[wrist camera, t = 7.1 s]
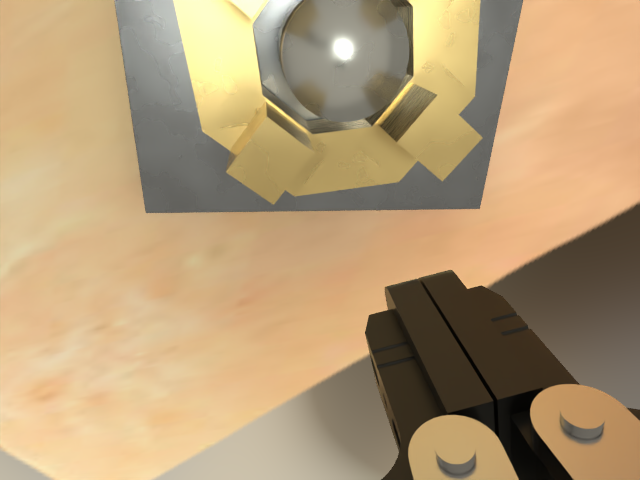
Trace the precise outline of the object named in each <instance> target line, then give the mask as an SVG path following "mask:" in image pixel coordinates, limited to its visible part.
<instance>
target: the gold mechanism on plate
mask: <svg viewBox="0 0 640 480" xmlns="http://www.w3.org/2000/svg"><path fill="white" fill-rule="evenodd" d="M522 3H523V0H480V16H479V34H478V52H477V70H476V88H475V97H474V98H473V99H472V100H471V102H470V103H469V104H468V105H467V106H466V107H465V108H464V109H463V111H462V112H461V113H460V114H459V116H461V117H462V118H463V119H464V120H465V121H466V122H467V123H468V124H469V125H470V126H471V127H472V128H473V129H474V130H475V131H476V132H477V133H478V134H479V135H481V136H482V137H483V138H482V139H481V140H480V141H479V143H478V144H477V145H476V146H475V147H474V148H473V149H472V150H471V151H470V152H469V153H468V154H467V155H466V157H465V158H464V159H463V160H462V161H461V162H460V163H459V164H458V165H457V166H456V167H455V168H454V170H453V171H452V172H451V173H450V174H449V175H448V176H447V177H446V178H445V179H444V180H443V181H441V180H440V179H439V178H438V177H437V176H435V175H434V174H433V173H432V172H431V171H430V170H428V169H427V168H426V167H425V166H424V165H423V164H421V163H420V162H419V161H417V162H416V163H415V164H414V166H413V167H412V168H411V169H410V170H409V171H408V172H407V173H406V175H405V176H404V177H403V178H402V179H401V180H400V181H399V182H396V183H389V184H382V185H374V186H367V187H360V188H353V189H345V190H338V191H331V192H323V193H316V194H309V195H302V196H293V195H292V194H290V193H289V192H287V191H286V190H285V191H284V192H283V194H282V195H281V196H280V197H279V199H278V200H277V201H276V202H275V204H274V205H273V204H272V203H270V202H269V201H267V200H266V199H264V198H263V197H261V196H260V195H258V194H257V193H256V192H254V191H253V190H251V189H250V188H248V187H247V186H245V185H244V184H242V183H241V182H239V181H238V180H237V179H235V178H234V177H232V176H231V175H229V174H228V173H226V168H227V164H228V159H229V154H230V151H229V150H228V149H227V148H225V147H224V146H222V145H221V144H220V143H218V142H217V141H215V140H214V139H213V138H211V137H210V136H208V135H207V134H205V133H204V132H203V131H202V128H201V123H200V119H199V114H198V110H197V105H196V101H195V96H194V92H193V87H192V83H191V78H190V73H189V69H188V64H187V60H186V55H185V51H184V46H183V42H182V37H181V33H180V28H179V24H178V19H177V14H176V10H175V5H174V1H173V0H115V7H116V14H117V21H118V27H119V34H120V41H121V48H122V54H123V61H124V68H125V75H126V82H127V88H128V95H129V102H130V109H131V116H132V122H133V129H134V136H135V143H136V149H137V156H138V163H139V170H140V177H141V183H142V190H143V197H144V204H145V210H146V213H183V212H262V211H340V210H418V209H480V205H481V200H482V195H483V190H484V185H485V181H486V176H487V171H488V166H489V161H490V157H491V152H492V147H493V142H494V137H495V133H496V128H497V123H498V118H499V113H500V109H501V104H502V99H503V94H504V90H505V85H506V80H507V75H508V70H509V66H510V61H511V56H512V51H513V46H514V42H515V37H516V32H517V27H518V22H519V18H520V13H521V8H522ZM253 27H254V34H255V40H256V47H257V53H258V60H259V66H260V73H261V80H262V86H263V87H264V88H266V89H267V90H268V91H269V92H271V93H272V94H273V95H275V96H276V97H277V98H278V99H280V100H281V101H282V102H283V103H285V104H286V105H287V106H288V107H290V108H291V109H292V110H293V111H295V112H296V113H297V114H298V115H300V116H301V117H302V118H303V119H305V120H306V121H311V120H319V119H326V120H330V121H335V122H352V121H357V120H361V119H364V118H367V117H369V116H371V115H373V114H374V113H376V112H378V111H379V110H381V109H382V108H383V107H384V106H385V105H386V104H387V103H388V102H389V101H390V100H391V99H392V98H393V97H394V95H395V94H396V93H397V91H398V89H399V88H400V86H401V84H402V82H403V79H404V77H405V74H406V71H407V67H408V61H409V40H408V34H407V30H406V27H405V24H404V22H403V20H402V18H401V16H400V14H399V12H398V11H397V9H396V8H395V7H394V6H393V4H392V3H391V2H390V1H389V0H269V1H268V2H267V3H266V5H265V6H264V8H263V9H262V11H261V12H260V14H259V15H258V17H257V18H256V20H255V21H254V23H253Z"/></svg>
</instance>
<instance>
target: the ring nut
mask: <svg viewBox="0 0 640 480" xmlns="http://www.w3.org/2000/svg"><path fill="white" fill-rule="evenodd" d="M173 1H174V5H175V10H176V14H177V19H178V24H179V28H180V33H181V37H182V42H183V46H184V51H185V55H186V60H187V64H188V69H189V73H190V78H191V83H192V87H193V92H194V96H195V101H196V105H197V110H198V114H199V119H200V123H201V128H202V131H203V132H204V133H205V134H207V135H208V136H210V137H211V138H213V139H214V140H215V141H217V142H218V143H220V144H221V145H222V146H224V147H225V148H227V149H228V150H229V151H230V154H229V159H228V164H227V168H226V173H228V174H229V175H231V176H232V177H234V178H235V179H237V180H238V181H239V182H241V183H242V184H244V185H245V186H247V187H248V188H250V189H251V190H253V191H254V192H256V193H257V194H258V195H260V196H261V197H263V198H264V199H266V200H267V201H269V202H270V203H272V204H273V205H274V204H275V202H276V201H277V200H278V199H279V197H280V196H281V195H282V194H283V192H284V191H285V190H286V191H287V192H289V193H290V194H292V195H293V196H302V195H309V194H316V193H323V192H331V191H338V190H345V189H353V188H360V187H367V186H374V185H382V184H389V183H396V182H399V181H400V180H401V179H402V178H403V177H404V176H405V175H406V173H407V172H408V171H409V170H410V169H411V168H412V167H413V166H414V164H415V163H416V162H417V161H419V162H420V163H421V164H423V165H424V166H425V167H426V168H427V169H428V170H430V171H431V172H432V173H433V174H434V175H435V176H437V177H438V178H439V179H440V180H441V181H443V180H444V179H445V178H446V177H447V176H448V175H449V174H450V173H451V172H452V171H453V170H454V168H455V167H456V166H457V165H458V164H459V163H460V162H461V161H462V160H463V159H464V158H465V157H466V155H467V154H468V153H469V152H470V151H471V150H472V149H473V148H474V147H475V146H476V145H477V144H478V143H479V141H480V140H481V139H482V138H483V137H482V136H481V135H479V134H478V133H477V132H476V131H475V130H474V129H473V128H472V127H471V126H470V125H469V124H468V123H467V122H466V121H465V120H464V119H463V118H462V117H461V116H459V114H460V113H461V112H462V111H463V109H464V108H465V107H466V106H467V105H468V104H469V103H470V102H471V100H472V99H473V98H474V97H475V88H476V70H477V52H478V34H479V16H480V0H389V1H390V2H391V3H392V4H393V6H394V7H395V8H396V9H397V11H398V12H399V14H400V16H401V18H402V20H403V22H404V24H405V27H406V30H407V34H408V40H409V61H408V67H407V71H406V74H405V77H404V79H403V82H402V84H401V86H400V88H399V89H398V91H397V93H396V94H395V95H394V97H393V98H392V99H391V100H390V101H389V102H388V103H387V104H386V105H385V106H384V107H383V108H382V109H381V110H379V111H378V112H376V113H374V114H373V115H371V116H369V117H367V118H364V119H361V120H357V121H352V122H335V121H330V120H326V119H319V120H311V121H306V120H305V119H303V118H302V117H301V116H300V115H298V114H297V113H296V112H295V111H293V110H292V109H291V108H290V107H288V106H287V105H286V104H285V103H283V102H282V101H281V100H280V99H278V98H277V97H276V96H275V95H273V94H272V93H271V92H269V91H268V90H267V89H266V88H264V87H263V86H262V80H261V73H260V66H259V60H258V53H257V47H256V40H255V34H254V27H253V23H254V21H255V20H256V18H257V17H258V15H259V14H260V12H261V11H262V9H263V8H264V6H265V5H266V3H267V2H268V1H269V0H173Z"/></svg>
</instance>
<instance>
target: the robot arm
mask: <svg viewBox="0 0 640 480" xmlns="http://www.w3.org/2000/svg"><path fill="white" fill-rule="evenodd" d="M385 296H386V301H387V307H388V310H387V311H383V312H379V313H375V314H371V315H369V318H368V322H367V327H366V331H365V334H366V339H367V344H368V348H369V353H370V357H371V362H372V366H373V371H374V375H375V380H376V384H377V387H378V390H379V393H380V396H381V399H382V402H383V405H384V408H385V411H386V414H387V417H388V419H389V423H390V426H391V429H392V432H393V435H394V438H395V441H396V444H397V447H398V450H399V455H398V458H397V460H396V462H395V464H394V466H393V467H392V469H391V470H390V471H389V473H388V474H387V475H386V476H385V477H384V478H383V479H381V480H640V410H637V409H631V408H626V407H625V406H624V405H622V404H621V403H620V402H619V401H618V400H616V399H614V398H613V397H611V396H610V395H608V394H606V393H604V392H602V391H600V390H597V389H595V388H592V387H588V386H584V385H580V384H579V383H578V382H577V381H576V380H575V379H574V378H573V377H572V376H571V374H570V373H569V372H568V371H567V370H566V369H565V367H564V366H563V365H562V364H561V363H560V362H559V361H558V359H557V358H556V357H555V356H554V355H553V354H552V353H551V352H550V350H549V349H548V348H547V347H546V346H545V345H544V343H543V342H542V341H541V340H540V339H539V338H538V337H537V335H536V334H535V333H534V332H533V331H532V330H531V329H528V325H527V324H526V323H525V322H524V321H523V320H522V318H521V317H520V316H517V314H516V312H515V311H514V309H513V308H512V307H511V306H510V305H509V303H508V302H507V301H506V300H505V299H504V298H503V297H502V296H501V295H499V294H497V293H495V292H493V291H491V290H489V289H487V288H485V287H483V286H478V287H474V288H470V289H467V288H466V287H465V286H464V284H463V283H462V282H461V280H460V279H459V278H458V277H457V275H456V274H455V273H454V272H453V271H452V270H448V271H444V272H440V273H436V274H433V275H429V276H425V277H421V278H418V279H414V280H410V281H406V282H403V283H399V284H395V285H391V286H387V287H385Z"/></svg>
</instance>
